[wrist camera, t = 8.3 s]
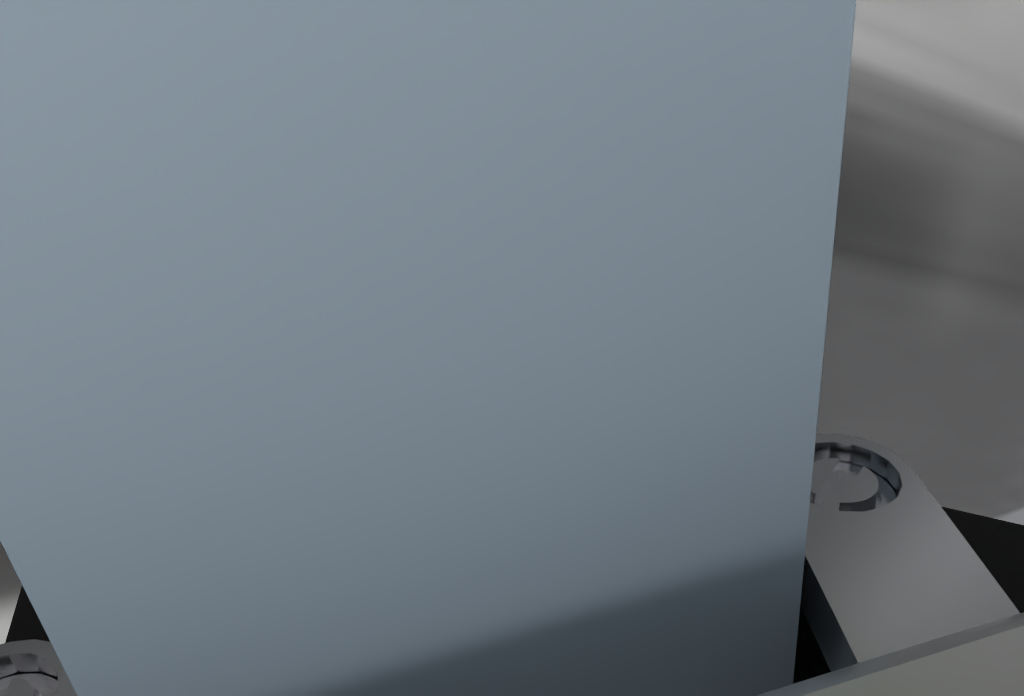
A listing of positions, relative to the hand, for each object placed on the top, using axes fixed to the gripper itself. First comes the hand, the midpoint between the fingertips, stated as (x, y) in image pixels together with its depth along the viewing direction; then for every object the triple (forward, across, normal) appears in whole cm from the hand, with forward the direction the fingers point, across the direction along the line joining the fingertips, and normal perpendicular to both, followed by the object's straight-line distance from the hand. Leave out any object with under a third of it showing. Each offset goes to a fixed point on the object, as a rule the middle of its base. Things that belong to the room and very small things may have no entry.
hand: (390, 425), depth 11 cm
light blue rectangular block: (+1, 0, 0) cm, 1 cm away
